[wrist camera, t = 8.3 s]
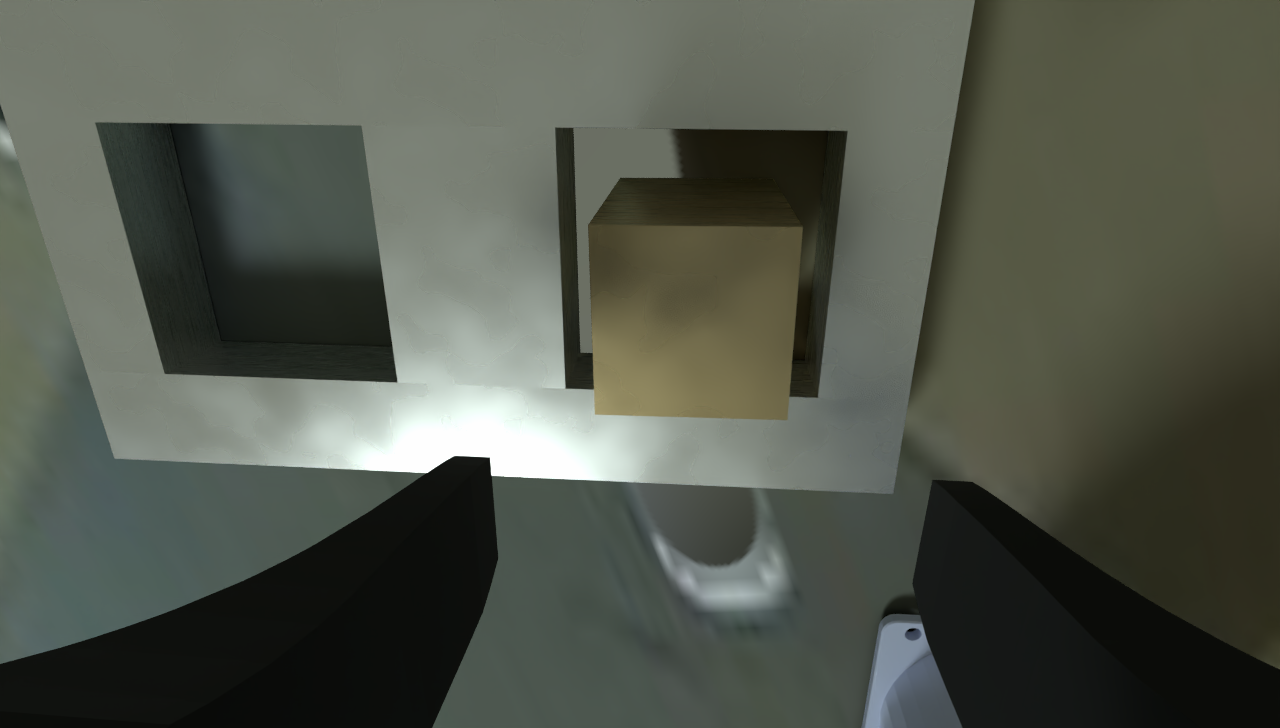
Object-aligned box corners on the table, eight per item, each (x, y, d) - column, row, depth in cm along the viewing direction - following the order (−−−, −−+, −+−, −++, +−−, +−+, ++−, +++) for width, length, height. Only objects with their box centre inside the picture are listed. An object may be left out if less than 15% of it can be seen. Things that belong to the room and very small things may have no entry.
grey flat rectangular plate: (939, -1, 17) (976, -11, 15) (872, 447, 22) (892, 493, 19) (56, 0, 18) (-36, -8, 16) (173, 418, 23) (114, 458, 21)
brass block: (772, 178, 19) (803, 226, 13) (763, 322, 20) (787, 420, 15) (620, 177, 19) (588, 225, 14) (622, 320, 21) (594, 414, 15)
